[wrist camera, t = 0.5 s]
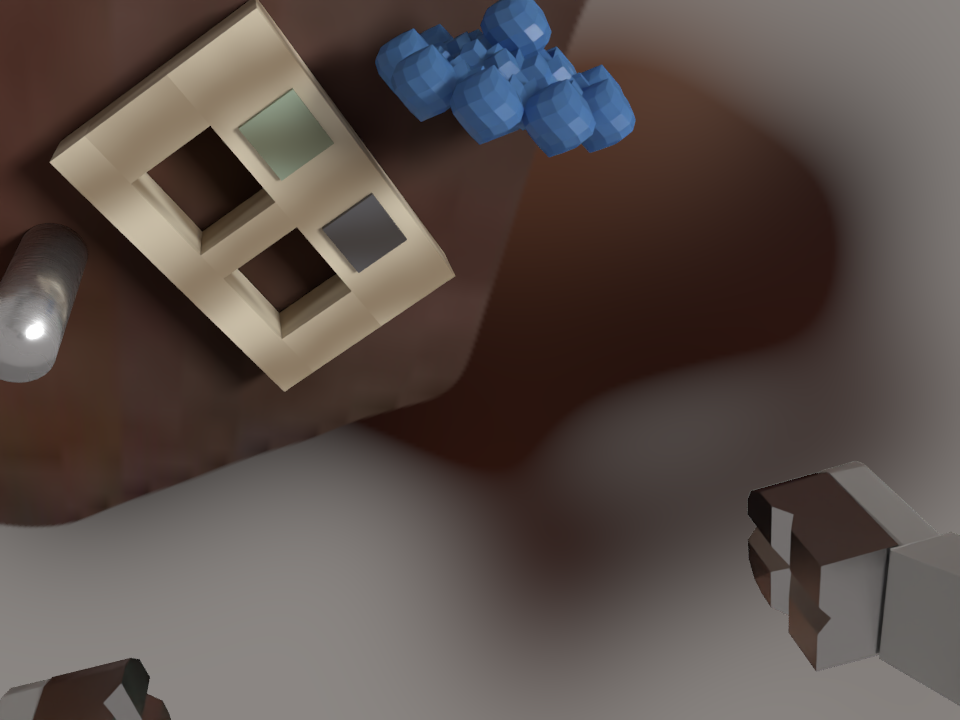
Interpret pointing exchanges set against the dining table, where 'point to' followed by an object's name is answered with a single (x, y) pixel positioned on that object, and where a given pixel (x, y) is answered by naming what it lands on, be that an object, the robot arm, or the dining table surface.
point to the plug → (38, 299)
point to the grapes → (506, 82)
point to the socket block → (259, 196)
